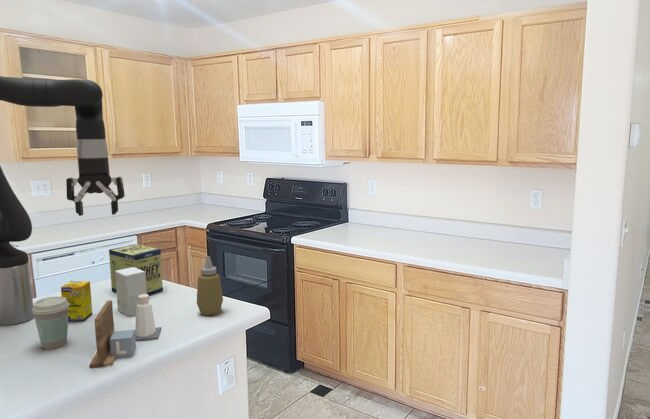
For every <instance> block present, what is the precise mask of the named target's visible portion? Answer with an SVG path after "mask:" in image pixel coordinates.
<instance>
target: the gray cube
mask: <svg viewBox="0 0 650 419" xmlns="http://www.w3.org/2000/svg"><path fill="white" fill-rule="evenodd" d="M136 342H137V341H136V339H135V329H126V330H125V329H124V330H114V333H113V335H112V336H111V338H110V348H111V355H115V356H116V358H115V359H117V358H118V359H120V358H129V357H134V355H135V352H136V350H137V343H136Z"/></svg>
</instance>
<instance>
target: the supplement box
mask: <svg viewBox="0 0 650 419" xmlns="http://www.w3.org/2000/svg"><path fill="white" fill-rule="evenodd" d="M60 294H61V297H65V298H66V299H67V301H68V302H69V307H68V323H69V322H79V323H80V322H81V323H83V322H85V321H86V320H88V318H90V317H91V316H92V315H93V304H92V303H93V302H92V291H91V281H90V280H87V281H86V280H85V281H80V280H78V281H76V280H75V281H74V280H70V281H69V282H67V283H65V284H64V285H62V286H60Z"/></svg>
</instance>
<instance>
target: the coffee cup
mask: <svg viewBox="0 0 650 419" xmlns="http://www.w3.org/2000/svg"><path fill="white" fill-rule="evenodd" d="M68 307H69V302H68V301H67V299H66V298H65V297H62V296H49V297H48V296H47V297H44V298H41V299H38V300H36V301H35V302H33V308H32V313H34V317H33V318H34V320H35V324H36V329H37V333H38V336H39V342H40V345H41V348H42V349H44V350H54V349H58V348H60V347H63V346H65V345H66V344H67V343H68V328H69V327H68V324H69V322H68Z"/></svg>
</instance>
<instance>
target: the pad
mask: <svg viewBox="0 0 650 419" xmlns="http://www.w3.org/2000/svg"><path fill="white" fill-rule="evenodd" d="M155 328H156V332H155V333H154V334H153V335H151V336H148V337H138V336H137V335H135V339H136V342H144V341H145V342H146V341H156V340H159V338H160V335H161V332H162V327H161V326H159V327H155Z"/></svg>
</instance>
